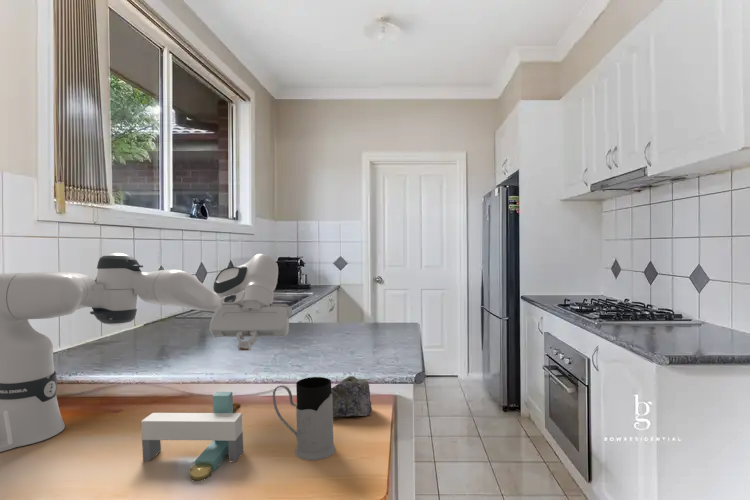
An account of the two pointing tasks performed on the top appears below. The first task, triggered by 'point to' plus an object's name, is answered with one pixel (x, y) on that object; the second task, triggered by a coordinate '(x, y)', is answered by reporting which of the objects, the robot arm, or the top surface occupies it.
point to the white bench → (192, 430)
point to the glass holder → (312, 418)
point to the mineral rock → (351, 398)
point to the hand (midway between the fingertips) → (244, 349)
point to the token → (200, 471)
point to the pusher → (217, 447)
